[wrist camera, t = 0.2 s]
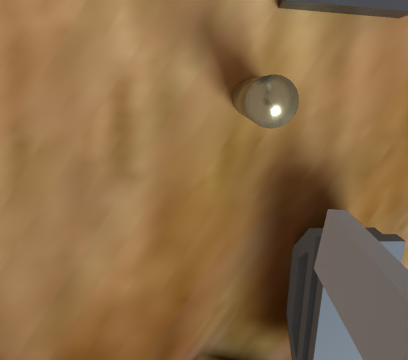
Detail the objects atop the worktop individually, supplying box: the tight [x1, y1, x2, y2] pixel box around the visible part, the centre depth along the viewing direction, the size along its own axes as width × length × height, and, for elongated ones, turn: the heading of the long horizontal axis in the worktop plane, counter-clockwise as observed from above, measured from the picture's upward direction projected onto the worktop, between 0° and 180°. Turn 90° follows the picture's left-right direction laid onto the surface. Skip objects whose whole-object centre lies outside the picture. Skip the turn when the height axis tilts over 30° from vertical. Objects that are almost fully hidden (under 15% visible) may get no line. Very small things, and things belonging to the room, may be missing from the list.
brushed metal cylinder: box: [233, 75, 299, 128], centre depth 31 cm, size 4×4×12 cm
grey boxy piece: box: [286, 228, 406, 360], centre depth 40 cm, size 25×8×11 cm, turn 0°
